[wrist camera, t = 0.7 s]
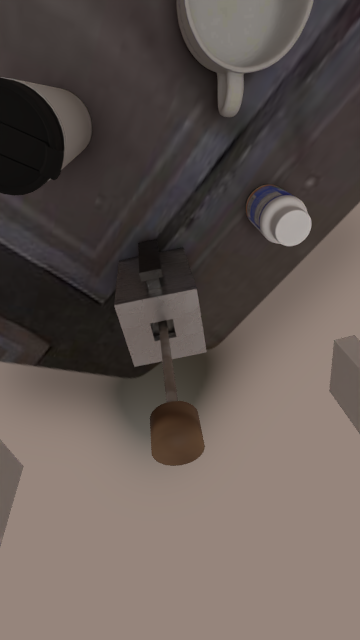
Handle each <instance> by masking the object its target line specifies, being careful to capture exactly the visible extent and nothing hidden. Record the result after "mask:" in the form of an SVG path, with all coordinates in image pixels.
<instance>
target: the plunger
mask: <svg viewBox="0 0 360 640" xmlns="http://www.w3.org/2000/svg"><path fill="white" fill-rule="evenodd" d="M151 326H152V329H153V333H154V336H158V335H160V343H161V353H162V363H163V371H164V382H165V391H166V400H167V403H164V404H162V405H160V406H158V407H157V408H156V409H155V410H154V411H153V412H152V414H151V416H150V426H151V427H150V428H151V448H152V449H151V450H152V456H153V458H154V459H155V460H156V461H158V462H159V463H162V464H165V465H171V466H176V465H183V464H187V463H190V462H192V461H194V460H196V459H197V458H198V457H200V455H201V454H202V453H203V451H204V447H205V446H204V440H203V436H202V431H201V426H200V420H199V416H198V411H197V409H196V408H195V407H194V406H193V405H191V404H189V403H187V402H183V401H178V397H177V390H176V384H175V377H174V370H173V362H172V355H171V348H170V341H169V334H168V333H173V332H175V327H174V323H173V319H170V320H165V321H160V322H155V323H151Z"/></svg>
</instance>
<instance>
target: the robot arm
mask: <svg viewBox="0 0 360 640" xmlns="http://www.w3.org/2000/svg"><path fill="white" fill-rule="evenodd" d="M330 392H331V394H332V395H333V396H334V398H335V399H336V400H337V402H338V404H339V405H340V407H341V408H342V409H343V411H344V412H345V414H346V415H347V416H348V418H349V419H350V421H351V422H352V423H353V425H354V426H355V428H356V429H357V431H358V432H359V433H360V340H359V339H358V338H357V337H356V336H355V335H353V336H349V337H345V338H341V339H337V340H334V348H333V358H332V369H331V380H330ZM22 469H23V465H22V464H21V463H20V462H19V461H18V460H17V458H16V457H15V456H14V455H13V454H12V453H11V452H10V450H9V449H8V448H7V447H6V446H5V444H4V443H3V442H2V441H1V440H0V546H1V542H2V538H3V535H4V532H5V528H6V525H7V521H8V518H9V514H10V511H11V507H12V504H13V501H14V497H15V494H16V490H17V487H18V483H19V480H20V476H21V473H22Z"/></svg>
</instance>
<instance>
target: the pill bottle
mask: <svg viewBox="0 0 360 640" xmlns="http://www.w3.org/2000/svg"><path fill="white" fill-rule="evenodd" d="M246 214H247V217H248V219H249V220H250V221H251V223H252V224H253V225H254V226H255V227H256V228H257V229H258V230H259V231H260V232H261V233H262V234H263V235H264V237H265V238H266V239H268V240H269V241H271V242H273V243H277V244H282V245H285V246H294V245H297V244H299V243H301V242H302V241H303V240H304V239H305V238H306V237H307V236H308V234H309V232H310V230H311V218H310V216H309V215H308V214H307V209H306V207H305V205H304V203H303V202H302V201H301V200H300V199H298V198H296V197H295V196H293V195H291V194H290V193H288V192H286V191H285V190H283V189H281V188H280V187H278V186H275V185H270V184H268V185H263V186H260V187H258V188H257V189H255V190H254V191H253V192H252V193H251V195H250V196H249V198H248V200H247V203H246Z"/></svg>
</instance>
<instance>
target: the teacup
mask: <svg viewBox="0 0 360 640" xmlns="http://www.w3.org/2000/svg"><path fill="white" fill-rule="evenodd" d="M313 1H314V0H177V16H178V22H179V27H180V30H181V33H182V36H183V39H184V41H185V43H186V45H187V47H188V49H189V50H190V52H191V53H192V55H193V56H194V57H195V59H196V60H197V61H198V62H199V63H200V64H202V65H203V66H204V67H206V68H207V69H209V70H211V71H213V72H216V73H217V80H218V109H219V113H220V114H221V115H222V116H224V117H233V116H235V115H236V114H237V112H238V111H239V109H240V106H241V102H242V97H243V89H244V79H243V75H244V73H251V72H256V71H260V70H263V69H265V68H267V67H269V66H271V65H273V64H275V63H276V62H278V61H279V60H280V59H281V58H282V57H283V56H284V55H285V54H286V53H287V52H288V51H289V50H290V49H291V48H292V46H293V45H294V44H295V42H296V41H297V39H298V38H299V36H300V34H301V32H302V30H303V28H304V26H305V24H306V22H307V20H308V17H309V14H310V11H311V8H312V5H313Z"/></svg>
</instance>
